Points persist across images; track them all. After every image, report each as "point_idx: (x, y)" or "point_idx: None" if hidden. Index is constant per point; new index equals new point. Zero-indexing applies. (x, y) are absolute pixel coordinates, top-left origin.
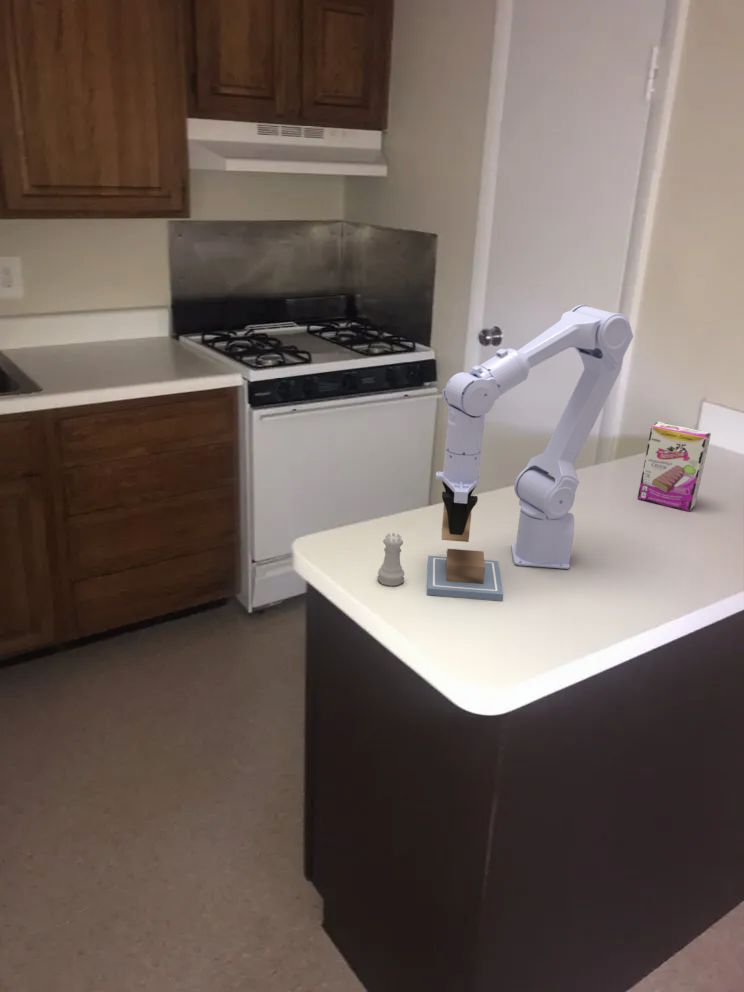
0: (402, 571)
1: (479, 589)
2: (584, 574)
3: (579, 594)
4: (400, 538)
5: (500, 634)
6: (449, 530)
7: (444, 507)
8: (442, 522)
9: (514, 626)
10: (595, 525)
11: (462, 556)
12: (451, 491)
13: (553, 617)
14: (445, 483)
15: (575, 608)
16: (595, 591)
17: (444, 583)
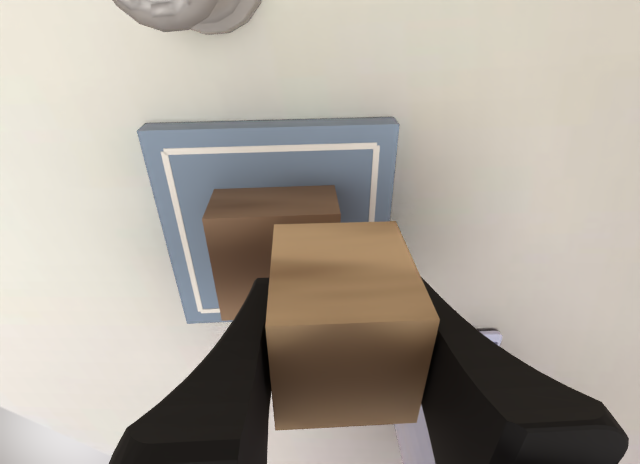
0: (200, 26)
1: (189, 276)
2: (363, 431)
3: (274, 423)
4: (152, 11)
5: (20, 305)
6: (252, 287)
7: (339, 325)
8: (379, 246)
9: (77, 329)
10: None
11: None
12: (465, 410)
13: (157, 388)
14: (505, 439)
15: None
16: (294, 441)
17: (195, 184)
